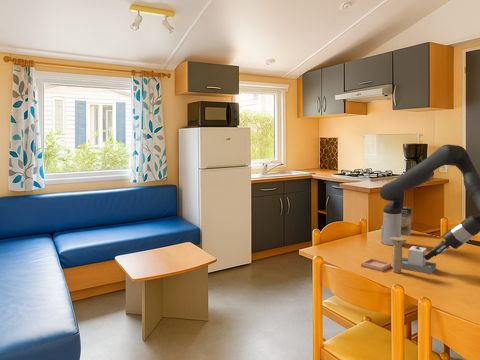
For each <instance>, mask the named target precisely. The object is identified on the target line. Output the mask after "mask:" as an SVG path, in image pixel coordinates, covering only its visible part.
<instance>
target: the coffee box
mask: <svg viewBox="0 0 480 360" xmlns="http://www.w3.org/2000/svg"><path fill="white" fill-rule="evenodd" d="M412 210H413V209H412V206H403V208H402V211H401V236H402V235H405V236H411V231H412V230H411V229H412Z"/></svg>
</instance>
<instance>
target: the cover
mask: <svg viewBox="0 0 480 360" xmlns="http://www.w3.org/2000/svg"><path fill="white" fill-rule="evenodd" d="M407 251H408V252H407V258H408V264H412V265H418V266H424V265H425V264H426V262H427V260H426V259H425V258H424V256H425V255H426V254H427V248H426V247H421V246H415V245H412V246H411V247H410V248H409V249H408V250H407Z"/></svg>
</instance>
